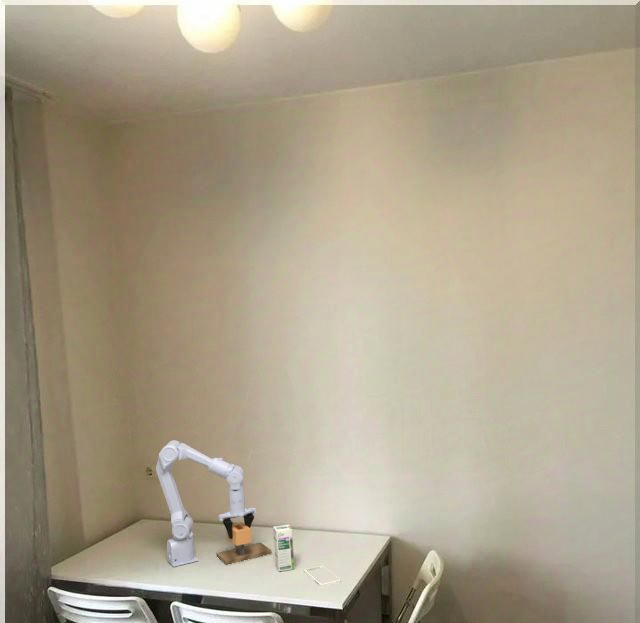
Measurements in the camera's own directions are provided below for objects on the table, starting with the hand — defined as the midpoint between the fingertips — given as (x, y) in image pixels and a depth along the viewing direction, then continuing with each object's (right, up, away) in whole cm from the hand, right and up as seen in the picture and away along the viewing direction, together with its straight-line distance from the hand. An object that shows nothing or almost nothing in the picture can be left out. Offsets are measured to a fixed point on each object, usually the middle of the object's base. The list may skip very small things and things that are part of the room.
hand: (238, 536), depth 255 cm
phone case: (+31, -7, -21) cm, 38 cm away
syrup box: (+18, -7, -12) cm, 23 cm away
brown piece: (+2, -8, +2) cm, 8 cm away
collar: (0, -2, 0) cm, 2 cm away
